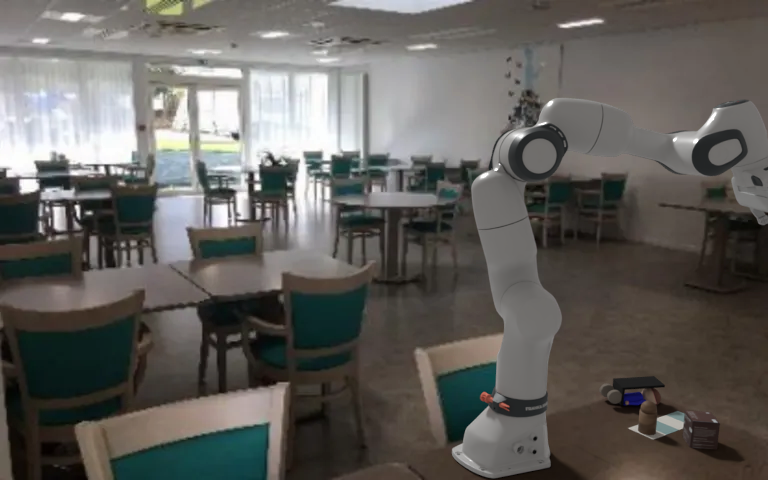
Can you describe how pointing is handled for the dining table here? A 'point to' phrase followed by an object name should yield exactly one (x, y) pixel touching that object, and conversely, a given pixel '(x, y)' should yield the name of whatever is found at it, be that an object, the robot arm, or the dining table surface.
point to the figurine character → (621, 384)
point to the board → (665, 425)
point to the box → (701, 429)
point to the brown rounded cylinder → (647, 418)
